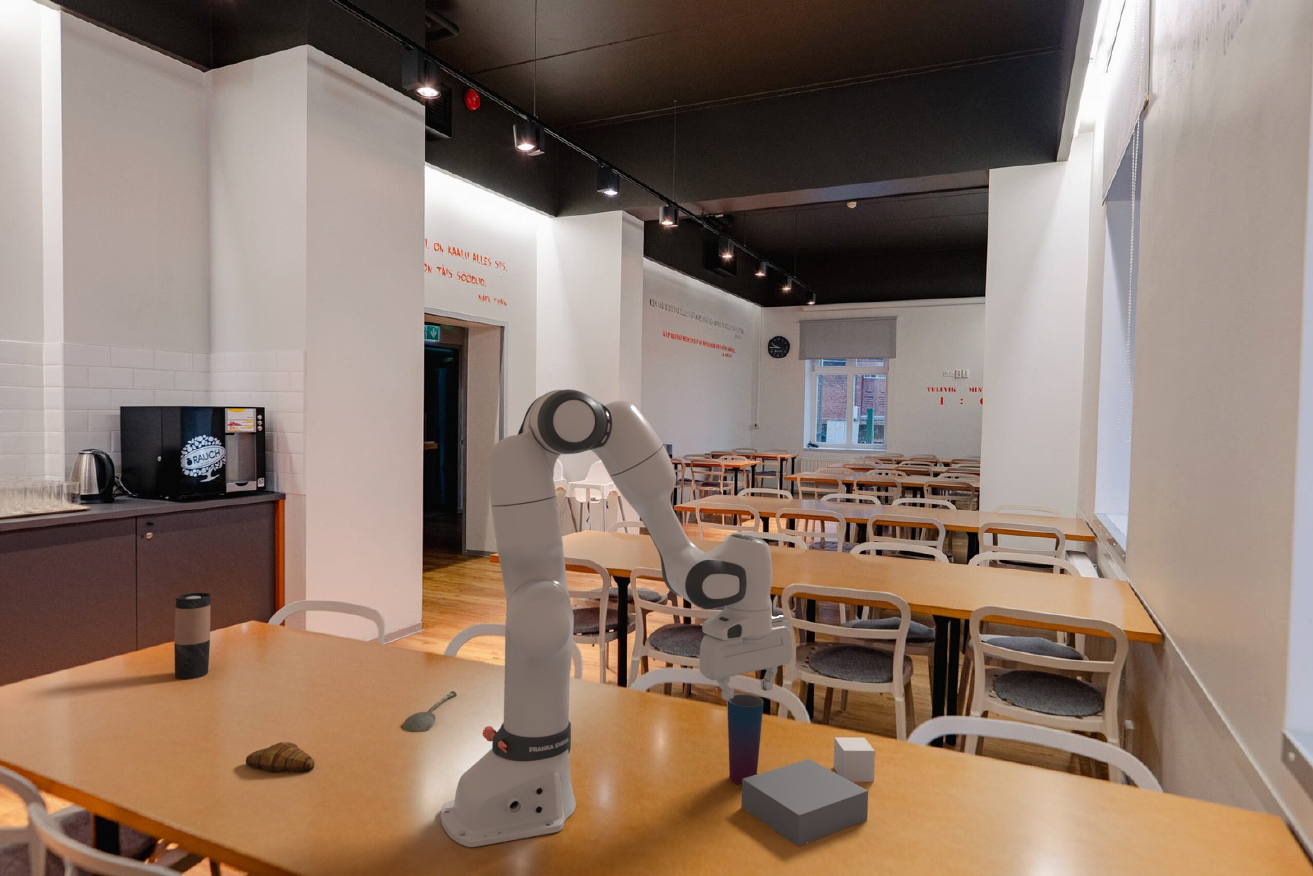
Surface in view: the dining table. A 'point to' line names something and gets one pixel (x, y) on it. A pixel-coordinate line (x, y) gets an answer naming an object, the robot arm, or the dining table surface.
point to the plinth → (804, 801)
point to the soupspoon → (423, 718)
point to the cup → (744, 735)
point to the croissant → (281, 759)
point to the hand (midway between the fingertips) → (747, 694)
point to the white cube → (854, 759)
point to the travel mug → (192, 635)
